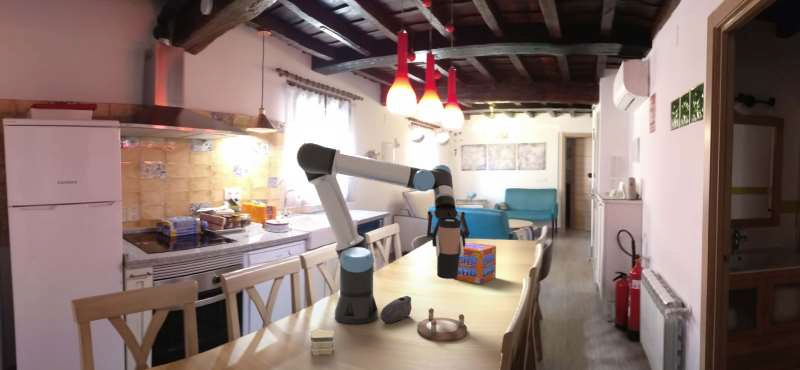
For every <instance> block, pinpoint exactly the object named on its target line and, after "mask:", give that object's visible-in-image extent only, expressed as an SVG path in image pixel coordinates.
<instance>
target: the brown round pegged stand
mask: <svg viewBox="0 0 800 370" xmlns="http://www.w3.org/2000/svg"><path fill="white" fill-rule="evenodd" d="M434 311H435V309H434V308H432V307H431V308H429V309H428V311H427V312H428V318H425V319H423V320H421V321H419V322H418V323H417V326H416V327H417V328H416V331H417V332H416V333H418V335H419V336H420V337H422V338H425V339H426V340H429V341H434V342H442V343H443V342H444V343H445V342H455V341H458V340H462V339H464V338H465V337H466V336H467V335H468V328H467V325H466V324H465V315H464V314H463V313H461V314H459V315H458V320H457V319H453V318H449V317H434V313H435V312H434Z"/></svg>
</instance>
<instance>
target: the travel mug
mask: <svg viewBox="0 0 800 370" xmlns="http://www.w3.org/2000/svg"><path fill="white" fill-rule="evenodd" d="M458 219H459V218H457V217H456V218H451V217H443V218H439V228H438V233H437V236H438V239H439V250H440V253H439V256H436V260H437V261H436V263H437V264H436V275H437V277H438V278H440V279H444V280H455V279H454V278H457V276H458V265H459V252H460V227H461V226H462V225H461V220H460V219H459V220H458Z"/></svg>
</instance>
